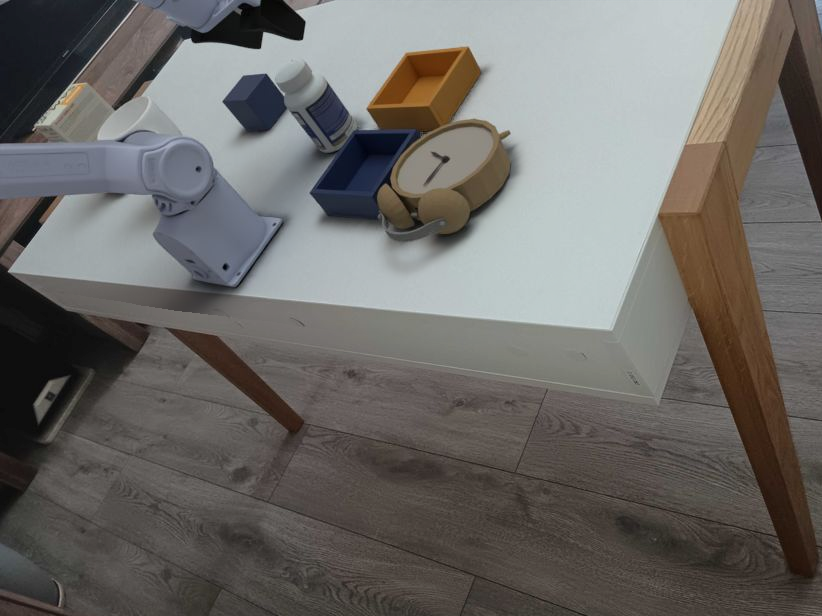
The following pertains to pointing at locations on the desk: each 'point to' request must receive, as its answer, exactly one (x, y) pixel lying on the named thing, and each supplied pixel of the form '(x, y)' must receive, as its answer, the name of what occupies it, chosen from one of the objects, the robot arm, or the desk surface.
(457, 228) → the alarm clock
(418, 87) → the amber bin
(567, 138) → the desk surface
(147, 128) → the mug
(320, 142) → the pill bottle
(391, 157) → the navy bin
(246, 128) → the navy block
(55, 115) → the supplement box
